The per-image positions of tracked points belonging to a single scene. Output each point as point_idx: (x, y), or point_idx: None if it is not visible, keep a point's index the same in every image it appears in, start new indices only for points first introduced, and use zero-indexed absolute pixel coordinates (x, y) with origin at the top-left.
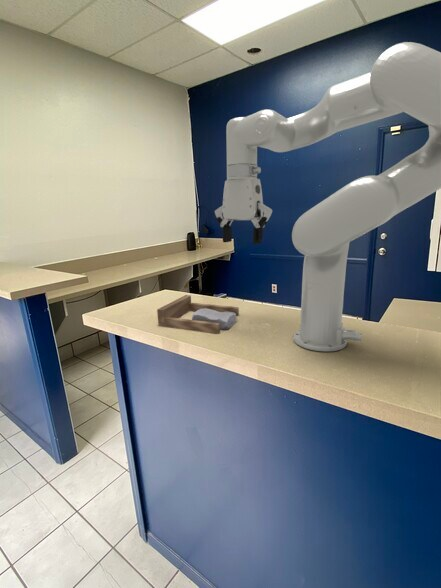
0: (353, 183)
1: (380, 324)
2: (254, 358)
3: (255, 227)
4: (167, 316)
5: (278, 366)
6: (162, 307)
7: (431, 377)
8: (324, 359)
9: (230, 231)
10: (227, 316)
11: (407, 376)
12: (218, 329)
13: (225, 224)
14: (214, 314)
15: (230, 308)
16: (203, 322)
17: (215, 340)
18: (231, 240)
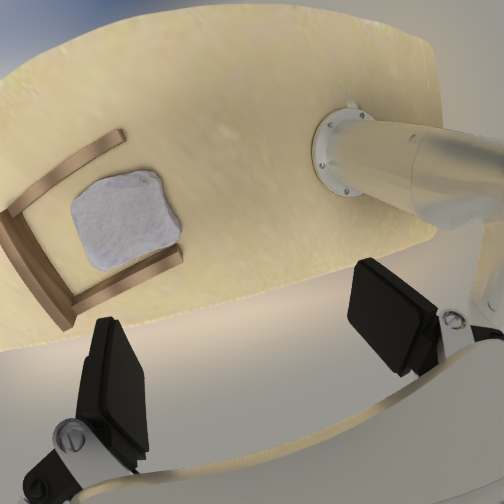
0: None
1: (387, 29)
2: (298, 272)
3: (410, 365)
4: (68, 303)
5: (333, 264)
6: (54, 319)
7: None
8: (371, 207)
9: (117, 388)
10: (165, 219)
11: None
12: (181, 253)
13: (140, 473)
14: (132, 235)
15: (104, 151)
16: (148, 274)
17: (204, 275)
18: (117, 321)
